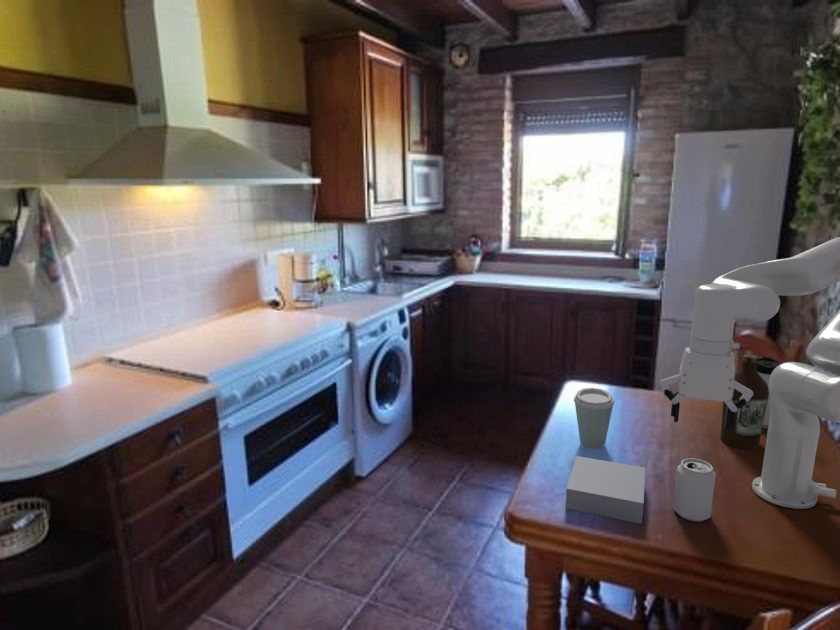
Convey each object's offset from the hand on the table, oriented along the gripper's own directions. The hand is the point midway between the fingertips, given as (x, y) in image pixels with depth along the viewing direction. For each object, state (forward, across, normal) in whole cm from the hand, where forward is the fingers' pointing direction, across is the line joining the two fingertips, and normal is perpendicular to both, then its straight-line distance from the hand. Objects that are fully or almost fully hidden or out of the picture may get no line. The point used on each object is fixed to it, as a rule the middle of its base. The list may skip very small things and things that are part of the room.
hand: (700, 423), depth 116 cm
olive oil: (+22, -14, -42) cm, 49 cm away
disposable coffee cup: (+22, +24, -26) cm, 42 cm away
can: (+22, 0, 0) cm, 22 cm away
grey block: (+22, +18, 0) cm, 28 cm away
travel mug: (+21, -21, -57) cm, 65 cm away
